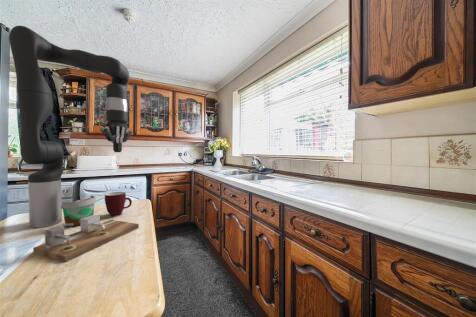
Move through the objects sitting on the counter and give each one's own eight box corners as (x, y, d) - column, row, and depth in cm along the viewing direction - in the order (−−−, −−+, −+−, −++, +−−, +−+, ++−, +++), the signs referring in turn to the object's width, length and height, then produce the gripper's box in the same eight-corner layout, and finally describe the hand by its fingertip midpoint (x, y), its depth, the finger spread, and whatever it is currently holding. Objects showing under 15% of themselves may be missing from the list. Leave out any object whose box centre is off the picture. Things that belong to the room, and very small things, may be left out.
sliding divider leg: (80, 230, 65) (80, 218, 64) (92, 226, 68) (92, 215, 68) (97, 234, 62) (97, 221, 62) (109, 229, 66) (109, 217, 66)
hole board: (33, 252, 55) (32, 230, 55) (111, 223, 78) (111, 207, 77) (65, 262, 51) (65, 238, 50) (138, 227, 73) (138, 211, 73)
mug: (129, 210, 95) (129, 190, 95) (133, 214, 89) (133, 193, 89) (103, 214, 88) (103, 193, 88) (106, 219, 82) (106, 196, 82)
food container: (74, 230, 70) (73, 203, 70) (61, 228, 72) (60, 202, 71) (104, 219, 82) (103, 196, 82) (92, 217, 84) (91, 195, 83)
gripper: (124, 114, 86) (124, 152, 87) (94, 107, 74) (94, 152, 74) (137, 113, 84) (137, 152, 85) (108, 106, 71) (109, 152, 72)
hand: (117, 152), depth 79 cm, fingers closed
